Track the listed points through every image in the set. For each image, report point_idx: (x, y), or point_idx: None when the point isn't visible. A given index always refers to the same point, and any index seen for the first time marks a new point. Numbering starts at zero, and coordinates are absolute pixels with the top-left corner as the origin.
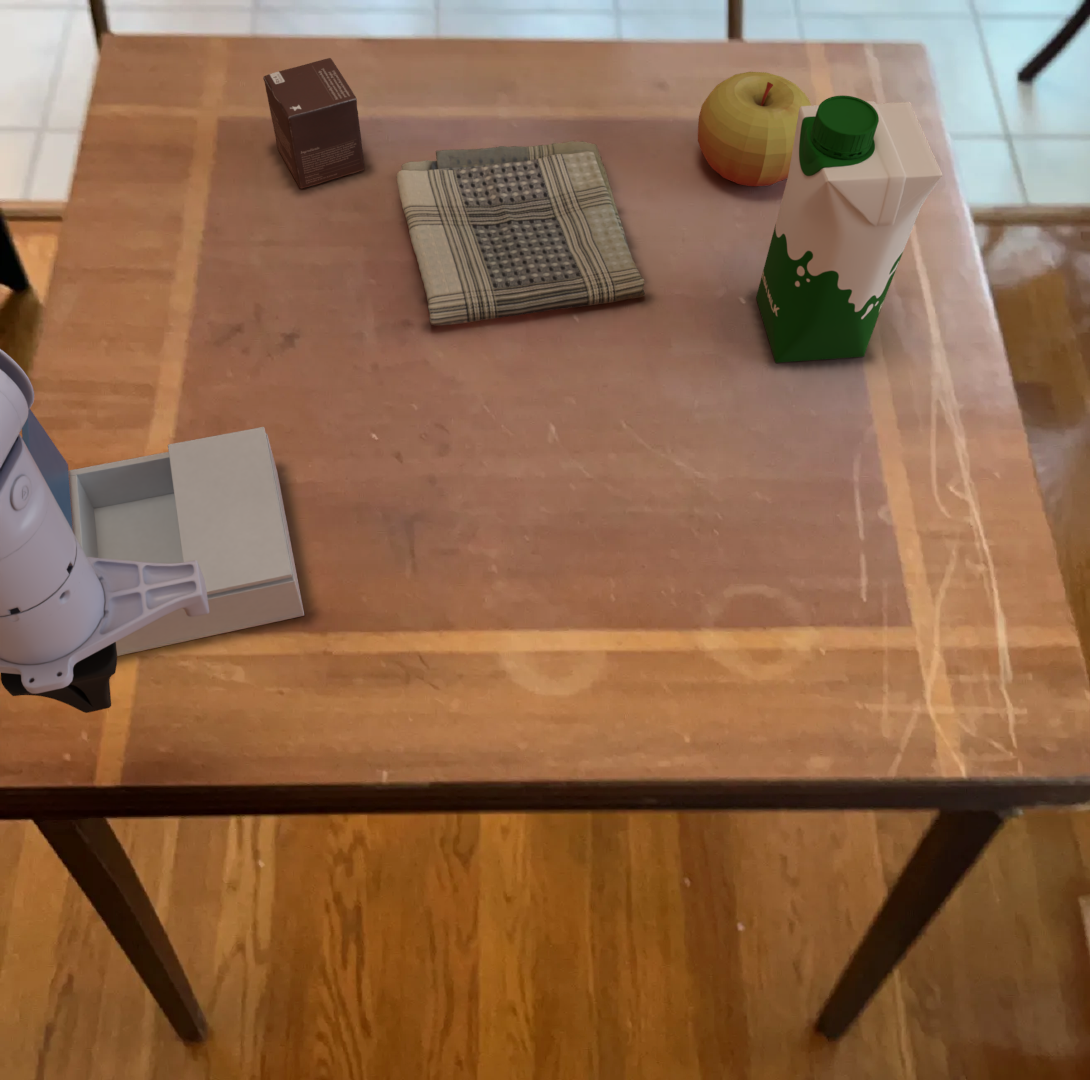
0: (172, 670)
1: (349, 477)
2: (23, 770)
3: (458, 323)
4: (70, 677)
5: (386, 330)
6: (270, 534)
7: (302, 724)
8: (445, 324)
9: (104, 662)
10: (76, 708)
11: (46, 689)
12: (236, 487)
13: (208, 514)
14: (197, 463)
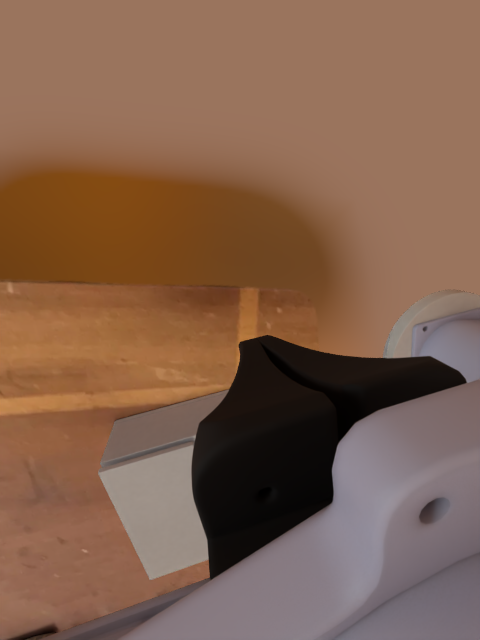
0: (211, 374)
1: (98, 521)
2: (307, 300)
3: (31, 638)
4: (354, 475)
5: (91, 617)
6: (126, 503)
7: (100, 334)
8: (40, 637)
9: (220, 467)
10: (279, 339)
11: (469, 401)
12: (165, 533)
13: (185, 510)
14: (200, 544)
